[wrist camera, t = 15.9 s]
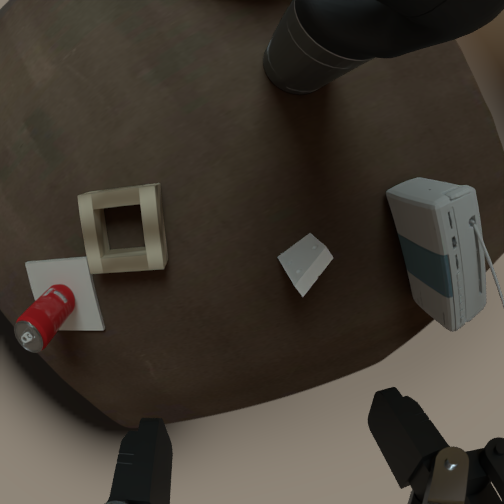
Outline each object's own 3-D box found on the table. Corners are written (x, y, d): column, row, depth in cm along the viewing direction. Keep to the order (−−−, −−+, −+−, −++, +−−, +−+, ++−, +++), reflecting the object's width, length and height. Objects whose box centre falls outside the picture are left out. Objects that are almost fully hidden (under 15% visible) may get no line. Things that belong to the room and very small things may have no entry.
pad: (27, 261, 39) (25, 263, 38) (88, 256, 40) (86, 258, 39) (46, 327, 43) (44, 329, 42) (105, 327, 44) (103, 330, 43)
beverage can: (83, 303, 41) (51, 346, 30) (63, 316, 42) (30, 358, 30) (64, 275, 40) (25, 312, 28) (44, 290, 40) (6, 328, 29)
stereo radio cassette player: (378, 190, 42) (473, 219, 23) (417, 170, 42) (514, 189, 23) (408, 300, 49) (478, 361, 30) (441, 278, 49) (515, 328, 30)
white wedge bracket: (254, 282, 42) (294, 285, 34) (297, 234, 46) (339, 228, 38) (269, 300, 43) (310, 308, 35) (310, 252, 47) (352, 250, 39)
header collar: (89, 191, 37) (77, 195, 34) (160, 183, 38) (154, 186, 35) (100, 263, 41) (90, 273, 37) (168, 258, 42) (164, 269, 38)
